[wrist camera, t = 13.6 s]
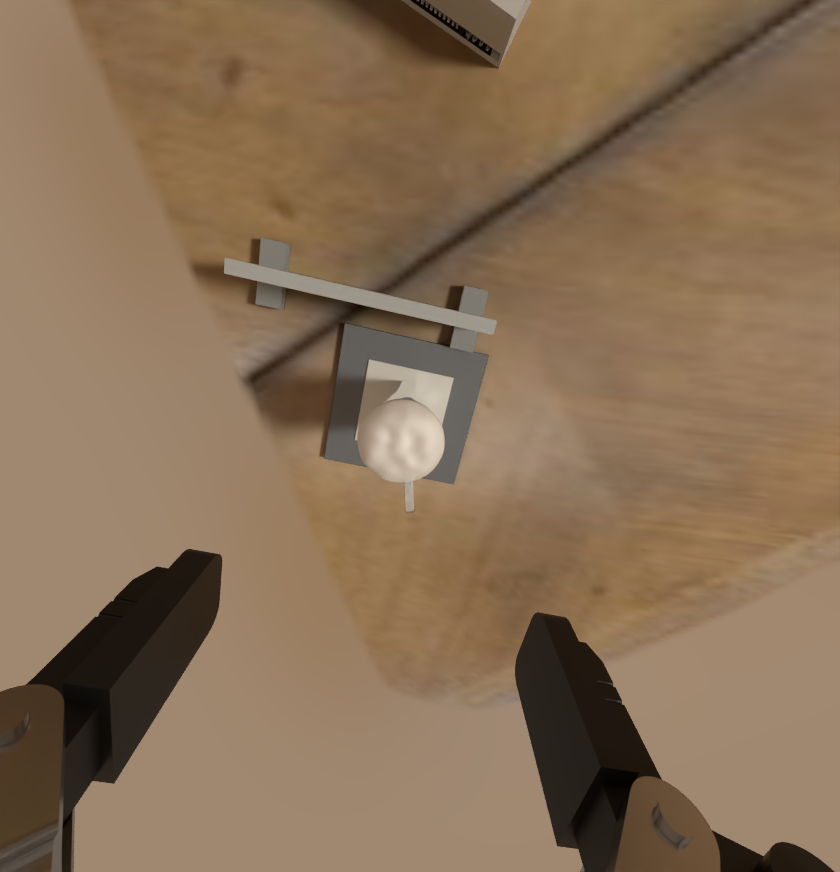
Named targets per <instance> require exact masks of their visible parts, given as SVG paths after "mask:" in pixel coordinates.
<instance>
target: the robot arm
mask: <svg viewBox="0 0 840 872" xmlns="http://www.w3.org/2000/svg"><path fill="white" fill-rule="evenodd" d="M221 571H222V557H221V555H220V554H215V553H209V552H203V551H198V550H192V549H188V550H186V551H184V552H183V553H182V554H181V556H180V557H179V558H178V559H177V560H176V561H175V562H174V563H173V564H172V565H171V566H170V567H169V568H168V569H167V568H162V567H155V568H154V569H152V570H150V571H148V572H146V573H144V574H143V575H141V576H139V577H137V578H135V579H133V580H132V581H131V582H130V583H129V584H128V585H127V586H126V587H125V588H124V589H123V590H122V591H121V592H120V593H119V594H118V595H117V596H116V597H115V599H114V601H111V602H110V603H109V604H108V605H107V606H106V607H105V608H104V609H103V610H102V611H101V612H100V613H99V616H98V617H95V618H94V619H93V620H92V621H91V622H90V623H89V624H88V625H87V626H86V627H85V628H84V629H82V631H80V633H78V634H77V636H75V637H74V639H72V640H71V641H70V642H69V643H68V644H67V646H65V647H64V648H63V649H62V650H61V651H60V652H59V653H58V654H57V655H56V656H55V657H54V658H53V659H52V660H51V661H50V662H49V663H48V664H47V665H46V666H45V667H44V668H43V669H42V670H41V671H40V672H39V673H38V674H37V675H36V676H35V677H34V678H33V679H32V680H31V681H29V682H28V684H26V685H23V686H18V687H14V688H10V689H7V690H4V691H1V692H0V872H74V823H75V822H74V821H75V809H74V807H75V806H76V804H77V803H78V801H79V800H80V798H81V797H82V795H83V794H84V792H85V791H86V789H87V788H88V786H89V785H90V783H91V782H92V781H99V782H106V783H115V781H116V780H117V778H118V776H119V775H120V773H121V772H122V770H123V768H124V767H125V765H126V764H127V762H128V760H129V759H130V757H131V756H132V754H133V752H134V751H135V749H136V748H137V746H138V744H139V743H140V741H141V740H142V738H143V736H144V735H145V733H146V732H147V730H148V729H149V727H150V725H151V724H152V722H153V721H154V719H155V717H156V716H157V714H158V713H159V711H160V709H161V708H162V706H163V704H164V703H165V701H166V700H167V698H168V697H169V695H170V693H171V692H172V690H173V689H174V687H175V686H176V684H177V682H178V681H179V679H180V678H181V676H182V674H183V673H184V671H185V670H186V668H187V666H188V665H189V663H190V661H191V660H192V658H193V657H194V655H195V653H196V652H197V650H198V649H199V647H200V646H201V644H202V643H203V641H204V639H205V638H206V636H207V635H208V633H209V631H210V629H211V628H212V625H213V623H214V621H215V618H216V615H217V612H218V608H219V600H220V586H221ZM515 678H516V684H517V688H518V692H519V696H520V700H521V704H522V708H523V712H524V716H525V720H526V724H527V728H528V732H529V736H530V740H531V744H532V748H533V751H534V756H535V759H536V764H537V768H538V771H539V775H540V779H541V783H542V787H543V791H544V795H545V799H546V803H547V807H548V811H549V815H550V819H551V823H552V827H553V831H554V835H555V839H556V843H557V846H560V847H568V848H576V849H579V853H580V856H581V860H582V863H583V867H582V869H581V871H580V872H834V871H833V870H832V869H831V868H830V867H828V866H827V865H826V864H825V863H823V862H822V861H821V860H820V859H818V858H817V857H815V856H814V855H813V854H811V853H810V852H808V851H806V850H805V849H803V848H801V847H798V846H796V845H794V844H790V843H786V842H780V843H776V844H775V845H773V846H772V847H771V849H770V850H769V851H768V852H767V853H766V854H765V856H762V855H760V854H757V853H756V852H754V851H751V850H750V849H748V848H746V847H744V846H742V845H740V844H738V843H736V842H734V841H732V840H730V839H727V838H726V837H724V836H722V835H720V834H718V833H716V832H714V831H713V830H711V828H710V826H709V824H708V823H707V821H706V820H705V818H704V817H703V815H702V814H701V813H700V811H699V810H698V809H697V808H696V806H695V805H694V804H693V803H692V802H691V801H690V800H689V799H688V798H687V797H686V796H685V795H684V794H683V793H681V792H680V791H679V790H678V789H677V788H675V787H674V786H672V785H671V784H669V783H667V782H665V781H663V780H662V779H661V777H660V775H659V773H658V771H657V769H656V767H655V765H654V763H653V761H652V759H651V757H650V755H649V753H648V751H647V749H646V747H645V745H644V743H643V741H642V739H641V737H640V735H639V733H638V731H637V729H636V728H635V726H634V724H633V721H632V719H631V717H630V716H629V714H628V712H627V710H626V708H625V706H624V705H622V700H621V698H620V696H619V694H618V692H617V690H616V688H615V687H613V682H612V680H611V678H610V676H609V674H608V672H607V670H606V668H605V666H604V664H603V662H602V661H601V660H600V658H599V657H598V656H597V655H596V654H595V653H594V652H593V650H592V649H591V648H590V647H589V646H588V645H587V644H586V643H584V642H579V641H578V639H577V637H576V634H575V632H574V630H573V628H572V626H571V624H570V622H569V620H568V619H567V618H565V617H561V616H555V615H549V614H544V613H535V614H534V615H533V617H532V619H531V622H530V624H529V627H528V630H527V632H526V635H525V637H524V640H523V642H522V645H521V647H520V650H519V652H518V655H517V659H516V665H515Z"/></svg>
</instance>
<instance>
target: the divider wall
mask: <svg viewBox="0 0 840 872" xmlns="http://www.w3.org/2000/svg"><path fill="white" fill-rule="evenodd" d="M290 247H291V245H289V244H287V243H283V242H279V241H275V240H270V239H266V238H262V237H261V242H260V254H259V265H258V264H253V263H248V262H244V261H239V260H234V259H230V258H225V264H224V274H229V275H233V276H238V277H242V278H246V279H251V280H255V281H257V291H256V303H255V304H258V305H263V306H267V307H271V308H276V309H284V305H285V295H286V288H290V289H294V290H299V291H303V292H307V293H312V294H316V295H320V296H325V297H329V298H334V299H338V300H342V301H347V302H351V303H355V304H360V305H364V306H368V307H373V308H377V309H382V310H386V311H390V312H395V313H399V314H403V315H408V316H412V317H417V318H421V319H425V320H430V321H434V322H438V323H443V324H447V325H451V326H454V327H453V331H452V336H451V340H450V344H449V347H450V348H454V349H458V350H463V351H467V352H472V353H473V350H474V346H475V342H476V339H477V335H478V332H482V333H486V334H491V335H493V334H494V330H495V326H496V323H497V321H496V320H493V319H489V318H486V317H482V315H483V312H484V308H485V304H486V300H487V296H488V292H489V291H485V290H481V289H477V288H473V287H468V286H463V290H462V294H461V298H460V302H459V306H458V311H456V310H452V309H448V308H443V307H439V306H435V305H430V304H426V303H422V302H418V301H413V300H409V299H405V298H400V297H396V296H392V295H387V294H383V293H379V292H374V291H370V290H366V289H361V288H357V287H353V286H349V285H344V284H340V283H336V282H331V281H327V280H323V279H318V278H314V277H310V276H305V275H301V274H297V273H293V272H288V266H289V257H290Z"/></svg>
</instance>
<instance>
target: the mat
mask: <svg viewBox="0 0 840 872" xmlns="http://www.w3.org/2000/svg"><path fill="white" fill-rule="evenodd" d="M488 357H489V355H486V354H481V353H477V352H473V353H472V352H467V351H463V350H458V349H454V348H450V347H449V346H446V345H441V344H437V343H432V342H428V341H423V340H419V339H415V338H410V337H406V336H401V335H397V334H392V333H388V332H383V331H379V330H375V329H370V328H366V327H361V326H357V325H352V324H348V323H345V326H344V333H343V340H342V346H341V353H340V359H339V366H338V372H337V379H336V385H335V392H334V398H333V405H332V411H331V418H330V424H329V431H328V438H327V444H326V451H325V457H324V459H329V460H334V461H339V462H344V463H349V464H354V465H359V466H364V467H367V466H366V465H365V464H364V463H363V461H362V459H361V457H360V453H359V449H358V443H357V435H358V430H359V427H360V425H361V423H362V421H363V419H364V418H365V416H366V415H367V414H368V413H369V412H370V411H371V410H372V409H373V408H374V407H375V406H376V405H377V404H378V402H379V401H380V400H381V398H382V397H383V396H384V394H385V393H386V392H387V391H388V389H389V388H390V387H392V386H394V385H396V384H398V383H400V382H402V381H405V382H411V383H417V384H418V385H419V386H420V387H421V388H422V389H423V390H424V391H425V392H426V393H427V394H428V396H429V399H430V401H431V404H432V406H433V409H434V412H435V414H436V416H437V418H438V419H439V421H440V423H441V425H442V427H443V431H444V438H445V446H444V452H443V455H442V457H441V459H440V461H439V463H438V464H437V466H436V467H435V468H434V469H433V470H432V471H431V472H430V473H429V474H428V475H426V476H424V477H422V478H424V479H429V480H434V481H439V482H444V483H449V484H454V482H455V478H456V474H457V471H458V467H459V463H460V460H461V456H462V452H463V449H464V445H465V441H466V438H467V434H468V430H469V427H470V423H471V420H472V416H473V412H474V409H475V405H476V401H477V398H478V394H479V390H480V387H481V383H482V379H483V376H484V372H485V368H486V365H487V361H488Z"/></svg>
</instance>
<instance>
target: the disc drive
mask: <svg viewBox="0 0 840 872" xmlns="http://www.w3.org/2000/svg"><path fill="white" fill-rule="evenodd" d="M401 1H402V2H404V3H405V4H407V5H408V6H410V7H411V8H412V9H414V10H415V11H417V12H418V13H420V14H421V15H423V16H424V17H425V18H427V19H428V20H430V21H431V22H433V23H434V24H435V25H437V26H438V27H440V28H441V29H443V30H444V31H446V32H447V33H448V34H450V35H451V36H453V37H454V38H456V39H457V40H458V41H460V42H461V43H463V44H464V45H466V46H467V47H469V48H470V49H471V50H473V51H474V52H476V53H477V54H479V55H480V56H482V57H483V58H484V59H486V60H487V61H489V62H490V63H492V64H493V65H494V66H496V67H497V68H499V67H500V65H501V63H502V61H503V59H504V56H505V54H506V52H507V50H508V48H509V46H510V44H511V42H512V40H513V38H514V36H515V34H516V32H517V30H518V27H519V25H520V23H521V21H522V19H523V17H524V15H525V13H526V11H527V9H528V7H529V5H530V3H531V1H532V0H401Z"/></svg>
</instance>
